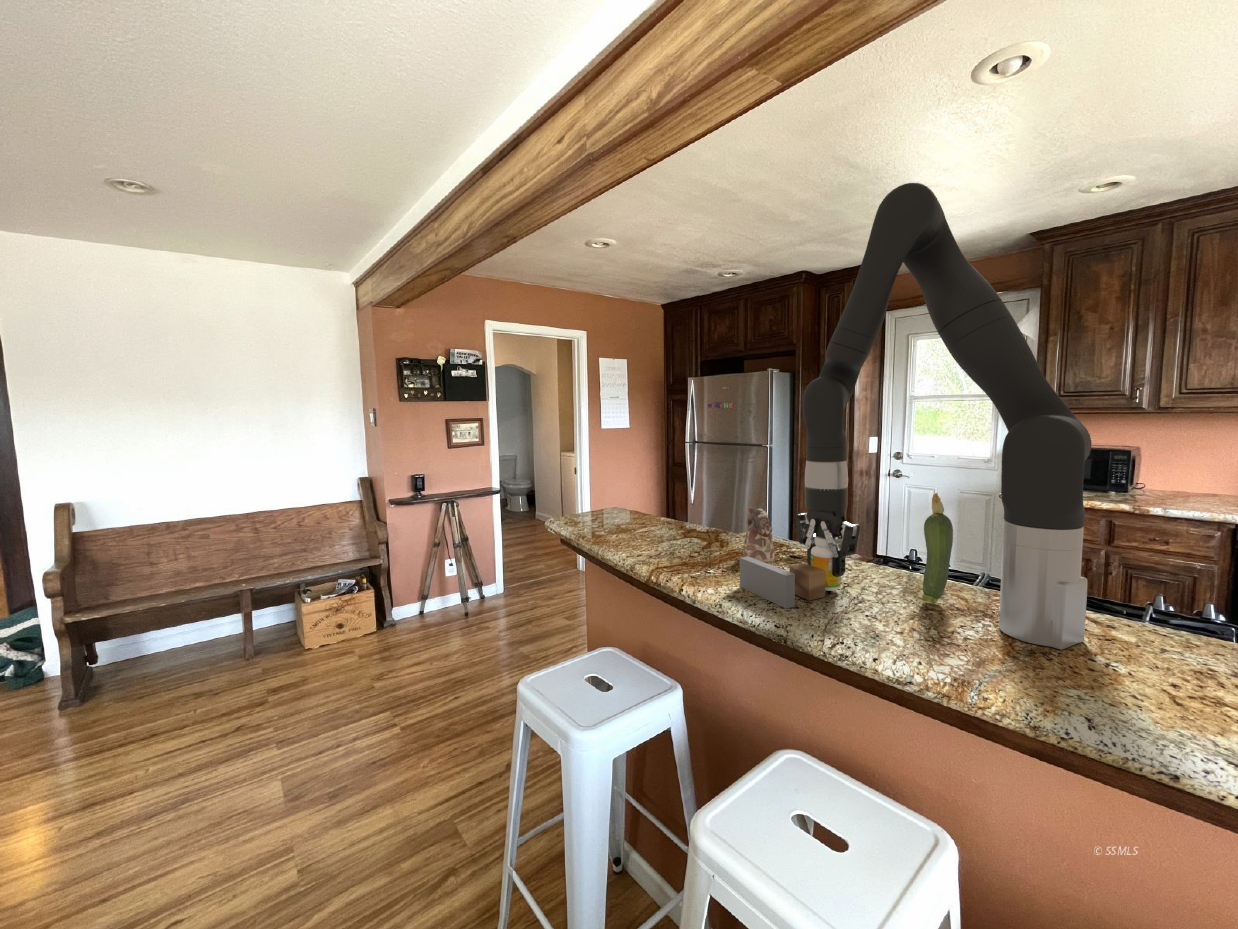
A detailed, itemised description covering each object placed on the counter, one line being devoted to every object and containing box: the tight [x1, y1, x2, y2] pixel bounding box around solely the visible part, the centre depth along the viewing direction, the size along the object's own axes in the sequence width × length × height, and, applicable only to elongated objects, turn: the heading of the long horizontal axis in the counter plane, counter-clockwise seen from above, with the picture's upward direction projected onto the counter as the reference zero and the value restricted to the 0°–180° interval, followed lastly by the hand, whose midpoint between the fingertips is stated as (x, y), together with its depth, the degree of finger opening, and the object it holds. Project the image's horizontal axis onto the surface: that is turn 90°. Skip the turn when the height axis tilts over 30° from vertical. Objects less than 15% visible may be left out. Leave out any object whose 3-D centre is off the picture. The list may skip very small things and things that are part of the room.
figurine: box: [742, 506, 776, 563], centre depth 122 cm, size 7×7×12 cm
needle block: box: [788, 563, 826, 601], centre depth 100 cm, size 10×4×5 cm, turn 25°
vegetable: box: [922, 492, 954, 604], centre depth 91 cm, size 4×4×20 cm
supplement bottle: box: [811, 536, 842, 592], centre depth 99 cm, size 5×5×10 cm
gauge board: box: [739, 556, 796, 609], centre depth 101 cm, size 13×20×6 cm, turn 115°
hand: (825, 571), depth 99 cm, fingers closed on supplement bottle, 5 cm apart
